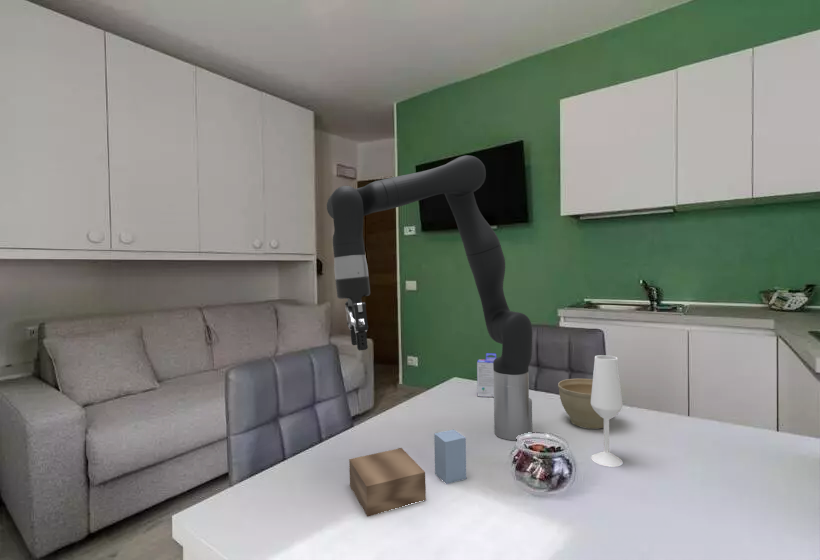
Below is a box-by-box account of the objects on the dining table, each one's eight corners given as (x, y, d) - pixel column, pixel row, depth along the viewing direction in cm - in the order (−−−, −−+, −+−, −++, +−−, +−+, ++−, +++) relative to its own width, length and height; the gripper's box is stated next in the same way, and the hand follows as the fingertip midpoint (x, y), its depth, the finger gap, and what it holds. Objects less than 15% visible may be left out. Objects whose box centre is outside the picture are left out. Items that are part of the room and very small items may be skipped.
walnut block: (402, 474, 92) (401, 447, 92) (425, 502, 81) (425, 472, 81) (349, 487, 88) (349, 459, 87) (367, 518, 77) (366, 486, 76)
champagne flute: (626, 459, 96) (626, 356, 96) (617, 469, 92) (617, 362, 91) (596, 450, 101) (596, 353, 100) (586, 460, 96) (585, 358, 95)
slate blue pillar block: (454, 468, 94) (453, 429, 94) (466, 478, 89) (465, 437, 89) (435, 473, 92) (434, 433, 92) (446, 484, 87) (445, 442, 87)
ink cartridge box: (506, 393, 147) (505, 352, 147) (506, 398, 142) (505, 356, 142) (477, 392, 149) (477, 352, 149) (477, 396, 144) (476, 355, 144)
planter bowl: (622, 419, 121) (622, 382, 121) (616, 439, 107) (616, 397, 107) (565, 409, 130) (564, 375, 129) (552, 427, 116) (552, 389, 116)
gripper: (374, 273, 88) (382, 349, 89) (362, 275, 102) (369, 341, 102) (339, 277, 86) (347, 354, 86) (332, 278, 100) (339, 345, 100)
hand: (359, 347), depth 94 cm, fingers open, 8 cm apart
